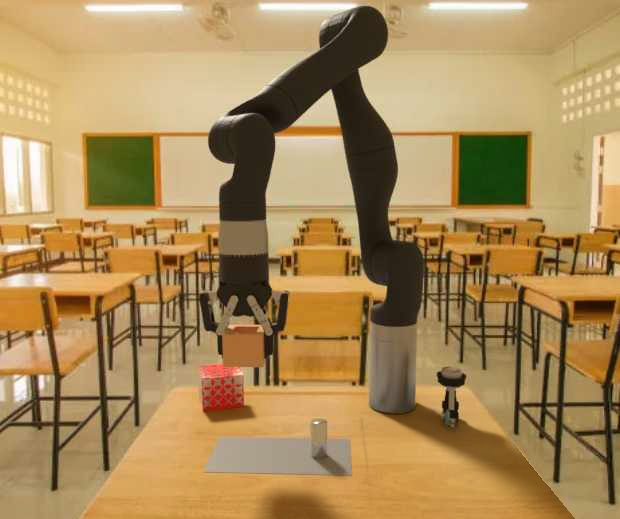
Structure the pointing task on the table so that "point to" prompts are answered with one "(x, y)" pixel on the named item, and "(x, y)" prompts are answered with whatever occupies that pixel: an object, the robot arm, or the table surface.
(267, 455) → the base plate
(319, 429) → the steel post
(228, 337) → the collar
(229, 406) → the red white patterned cube
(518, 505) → the table surface
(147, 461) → the table surface
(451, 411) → the push button
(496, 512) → the table surface
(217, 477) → the table surface
